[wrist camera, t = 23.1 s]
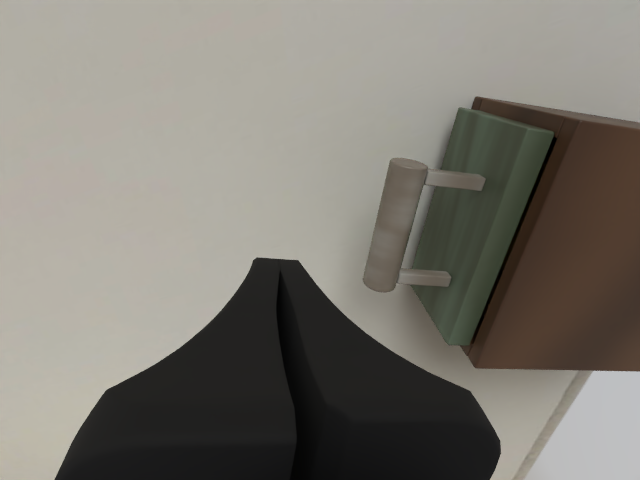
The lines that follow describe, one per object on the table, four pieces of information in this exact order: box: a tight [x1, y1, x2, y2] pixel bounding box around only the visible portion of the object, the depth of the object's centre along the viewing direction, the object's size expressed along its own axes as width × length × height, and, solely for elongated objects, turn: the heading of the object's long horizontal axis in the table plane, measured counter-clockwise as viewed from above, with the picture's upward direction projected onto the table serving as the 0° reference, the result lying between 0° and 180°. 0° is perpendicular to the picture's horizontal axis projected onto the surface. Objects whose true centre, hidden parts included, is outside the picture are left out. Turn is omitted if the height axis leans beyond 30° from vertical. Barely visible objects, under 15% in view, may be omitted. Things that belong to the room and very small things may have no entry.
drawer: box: [363, 108, 557, 346], centre depth 20 cm, size 17×10×6 cm, turn 81°
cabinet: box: [460, 97, 640, 371], centre depth 20 cm, size 14×12×8 cm
